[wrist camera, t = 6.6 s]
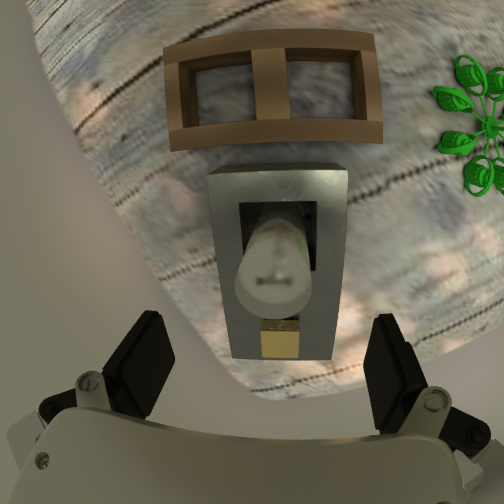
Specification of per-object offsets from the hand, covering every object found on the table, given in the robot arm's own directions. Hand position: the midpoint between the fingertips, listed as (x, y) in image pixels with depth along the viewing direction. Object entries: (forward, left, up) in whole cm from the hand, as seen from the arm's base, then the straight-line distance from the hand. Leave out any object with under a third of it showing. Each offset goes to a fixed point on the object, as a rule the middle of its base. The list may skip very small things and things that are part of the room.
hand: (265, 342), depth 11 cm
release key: (+8, 0, -15) cm, 17 cm away
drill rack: (-12, 0, -15) cm, 20 cm away
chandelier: (-11, +22, -16) cm, 29 cm away
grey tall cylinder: (-1, 0, -15) cm, 15 cm away
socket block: (+3, 0, -15) cm, 16 cm away
